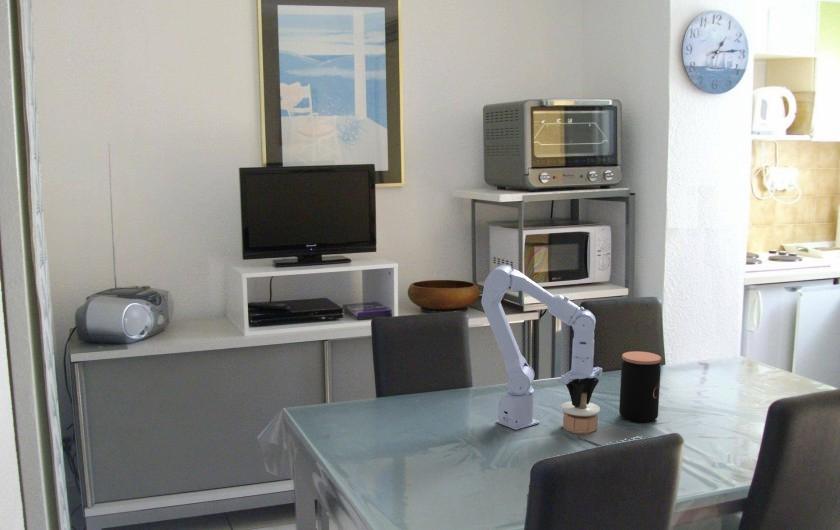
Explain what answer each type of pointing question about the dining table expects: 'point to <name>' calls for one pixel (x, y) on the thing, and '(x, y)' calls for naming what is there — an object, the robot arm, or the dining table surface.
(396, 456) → the dining table surface
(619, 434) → the mat
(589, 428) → the bowl
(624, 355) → the coffee jar
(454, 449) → the dining table surface
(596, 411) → the lid
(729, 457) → the dining table surface
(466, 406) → the dining table surface
